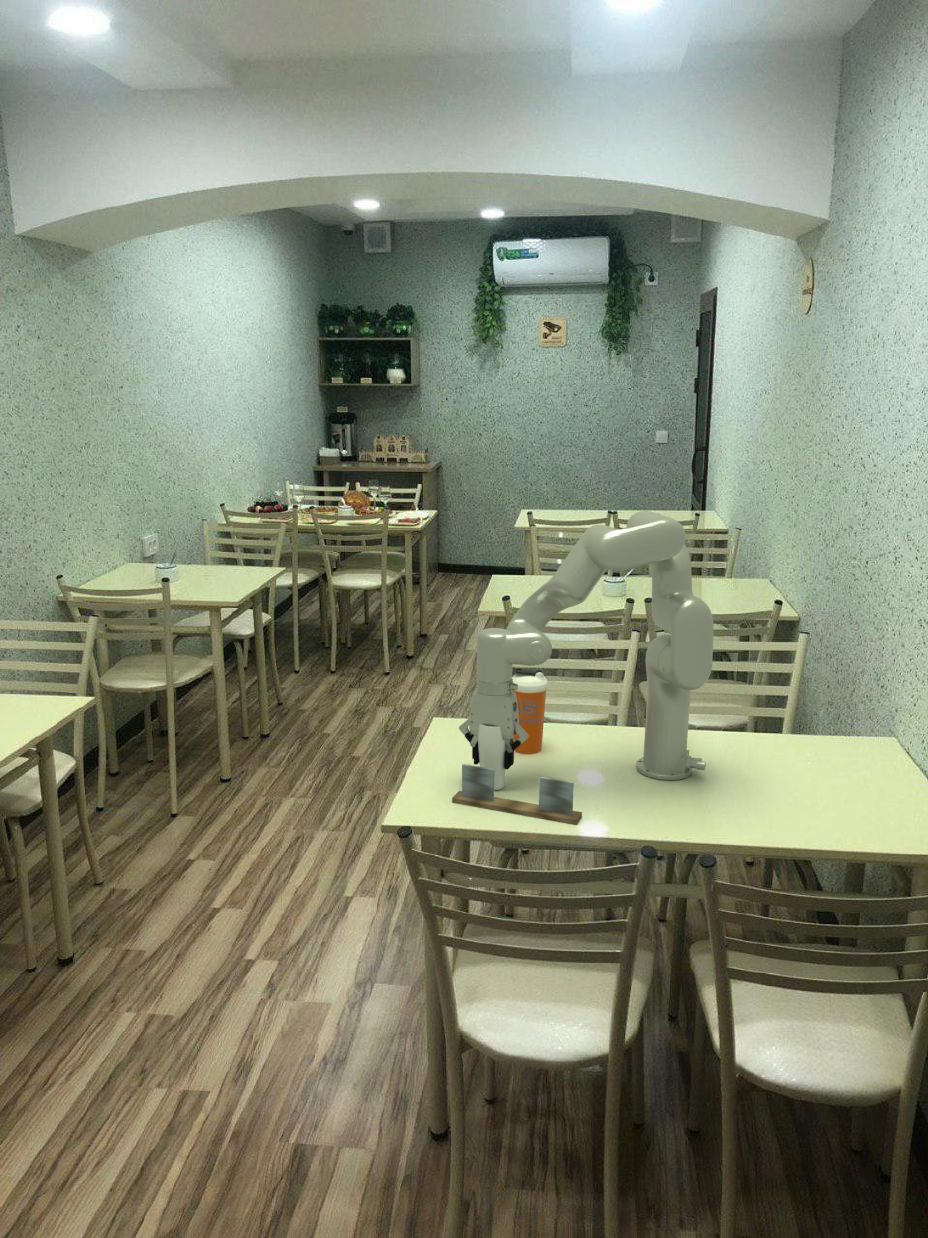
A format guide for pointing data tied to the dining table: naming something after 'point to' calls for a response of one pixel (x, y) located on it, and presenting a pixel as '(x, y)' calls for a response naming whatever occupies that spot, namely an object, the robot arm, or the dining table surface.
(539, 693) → the shaker bottle
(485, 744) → the drinking glass
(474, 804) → the stand
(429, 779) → the dining table surface
